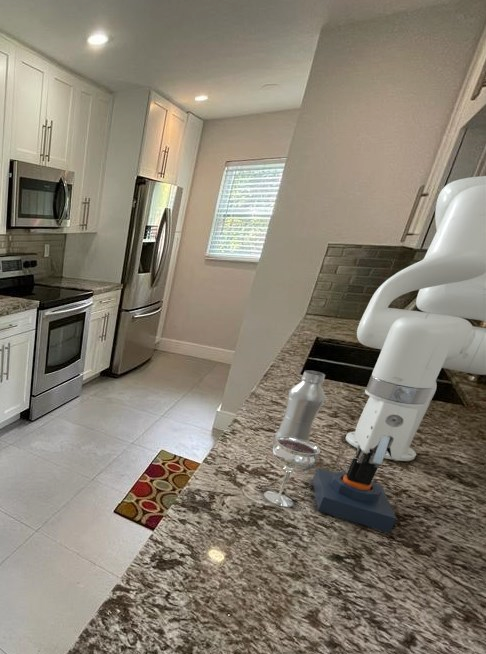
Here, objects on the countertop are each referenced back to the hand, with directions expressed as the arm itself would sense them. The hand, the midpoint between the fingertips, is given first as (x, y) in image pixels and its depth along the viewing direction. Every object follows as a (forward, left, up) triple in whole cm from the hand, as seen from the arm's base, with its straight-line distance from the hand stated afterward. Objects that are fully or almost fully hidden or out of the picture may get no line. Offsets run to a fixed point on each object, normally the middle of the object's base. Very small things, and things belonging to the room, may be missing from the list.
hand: (357, 480), depth 77 cm
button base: (0, 0, -6) cm, 6 cm away
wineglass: (+6, -11, -6) cm, 14 cm away
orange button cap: (0, 0, -2) cm, 2 cm away
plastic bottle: (-17, -9, -6) cm, 20 cm away
